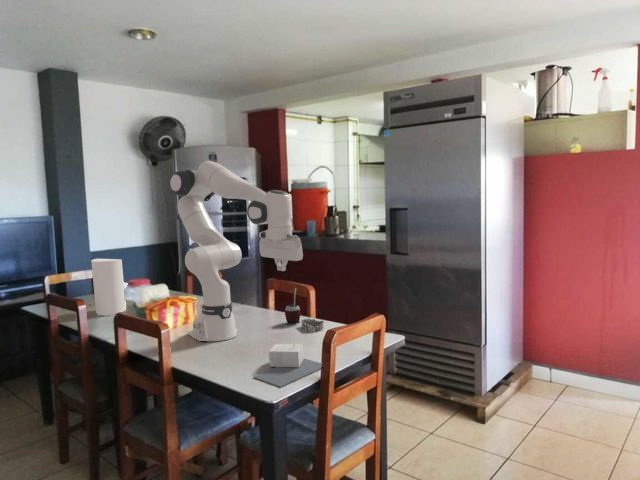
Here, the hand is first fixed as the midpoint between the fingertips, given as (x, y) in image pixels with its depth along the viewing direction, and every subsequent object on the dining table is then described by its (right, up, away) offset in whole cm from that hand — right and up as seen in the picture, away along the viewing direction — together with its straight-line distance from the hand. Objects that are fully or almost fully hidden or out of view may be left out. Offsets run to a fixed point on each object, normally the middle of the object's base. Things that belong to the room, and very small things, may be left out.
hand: (281, 270), depth 184 cm
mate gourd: (+2, -26, +38) cm, 46 cm away
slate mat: (+5, -33, -20) cm, 39 cm away
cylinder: (-94, -26, +73) cm, 122 cm away
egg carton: (+11, -27, +29) cm, 41 cm away
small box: (-3, -29, -13) cm, 32 cm away
